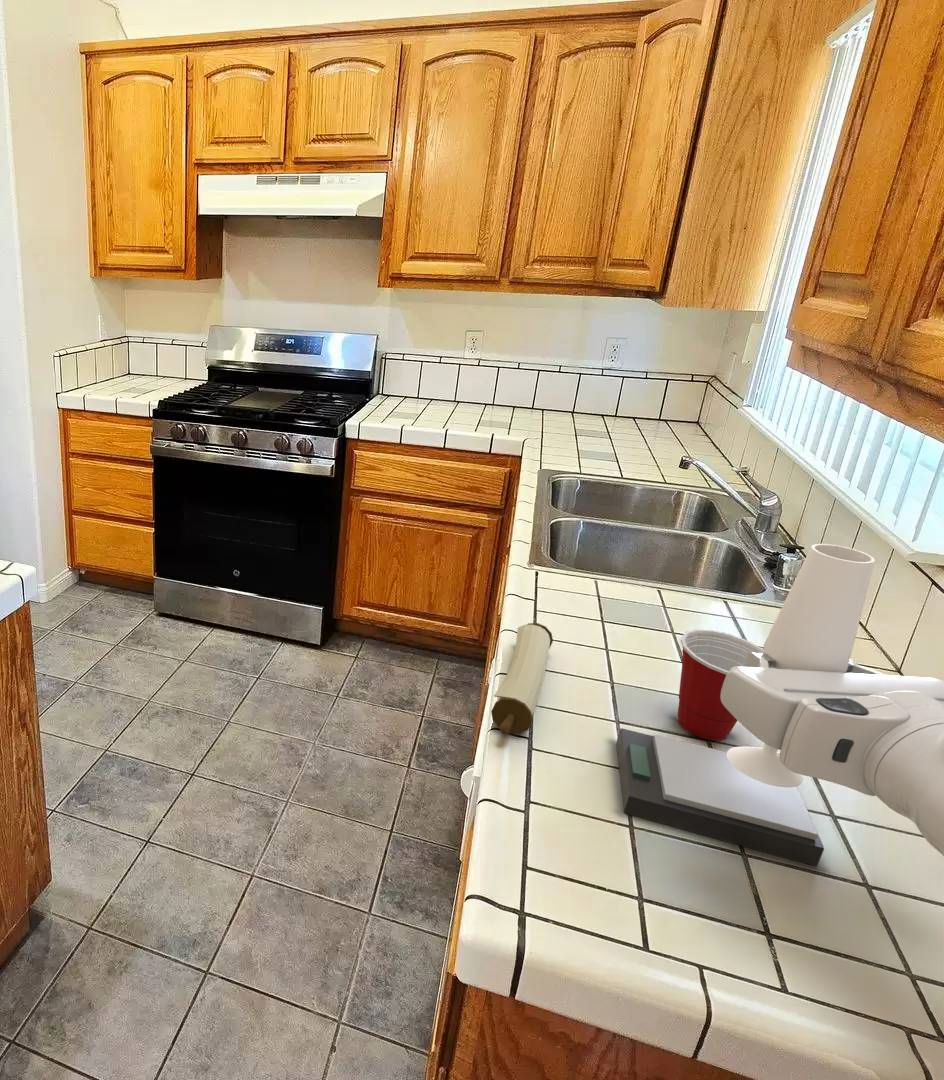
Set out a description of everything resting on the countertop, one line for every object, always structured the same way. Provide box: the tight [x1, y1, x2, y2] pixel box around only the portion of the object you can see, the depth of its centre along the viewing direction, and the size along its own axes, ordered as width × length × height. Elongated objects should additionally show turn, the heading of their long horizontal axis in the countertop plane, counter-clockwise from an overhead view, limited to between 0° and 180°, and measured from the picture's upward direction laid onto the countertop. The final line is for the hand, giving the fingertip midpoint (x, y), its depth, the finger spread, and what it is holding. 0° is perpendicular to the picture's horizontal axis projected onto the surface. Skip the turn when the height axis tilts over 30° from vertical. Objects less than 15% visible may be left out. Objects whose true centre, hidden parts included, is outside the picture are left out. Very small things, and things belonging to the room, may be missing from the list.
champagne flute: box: [726, 543, 876, 788], centre depth 74 cm, size 7×7×24 cm
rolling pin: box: [490, 622, 554, 735], centre depth 106 cm, size 32×6×5 cm, turn 151°
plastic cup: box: [677, 628, 765, 741], centre depth 97 cm, size 11×11×12 cm
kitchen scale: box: [616, 727, 825, 867], centre depth 86 cm, size 18×14×3 cm
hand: (794, 661), depth 75 cm, fingers closed on champagne flute, 6 cm apart
